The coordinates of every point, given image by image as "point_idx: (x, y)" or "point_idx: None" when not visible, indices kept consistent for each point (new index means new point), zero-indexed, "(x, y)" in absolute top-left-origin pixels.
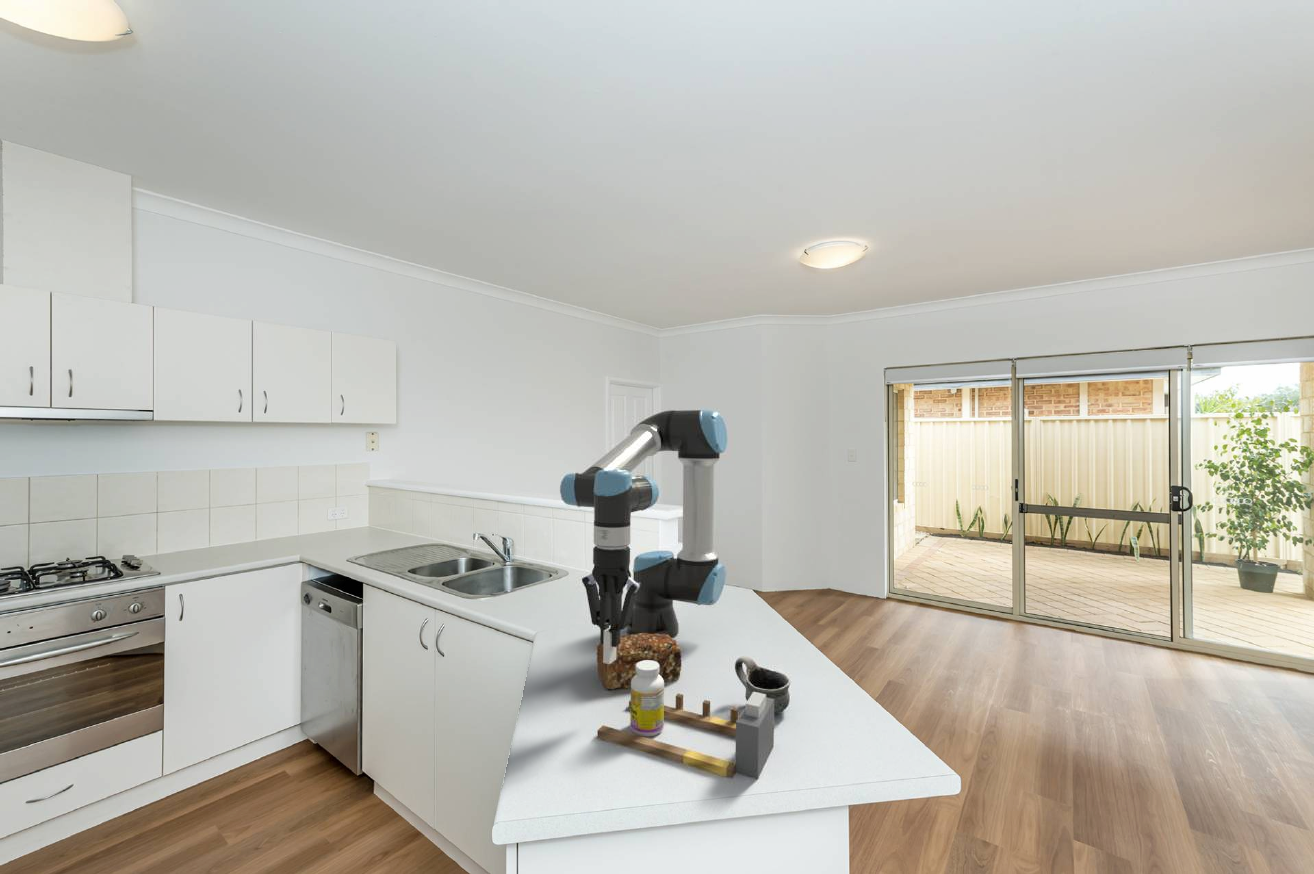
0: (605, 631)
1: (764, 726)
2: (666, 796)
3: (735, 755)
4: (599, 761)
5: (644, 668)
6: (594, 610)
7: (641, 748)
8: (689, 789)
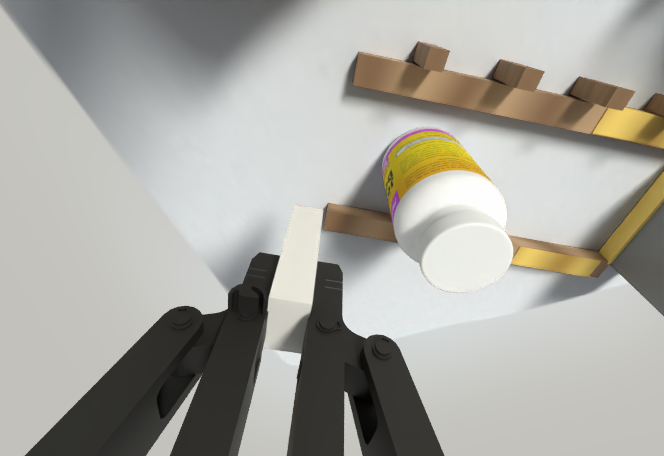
0: (274, 348)
1: None
2: (473, 315)
3: (621, 275)
4: (354, 275)
5: (456, 284)
6: (149, 444)
7: None
8: (509, 299)
